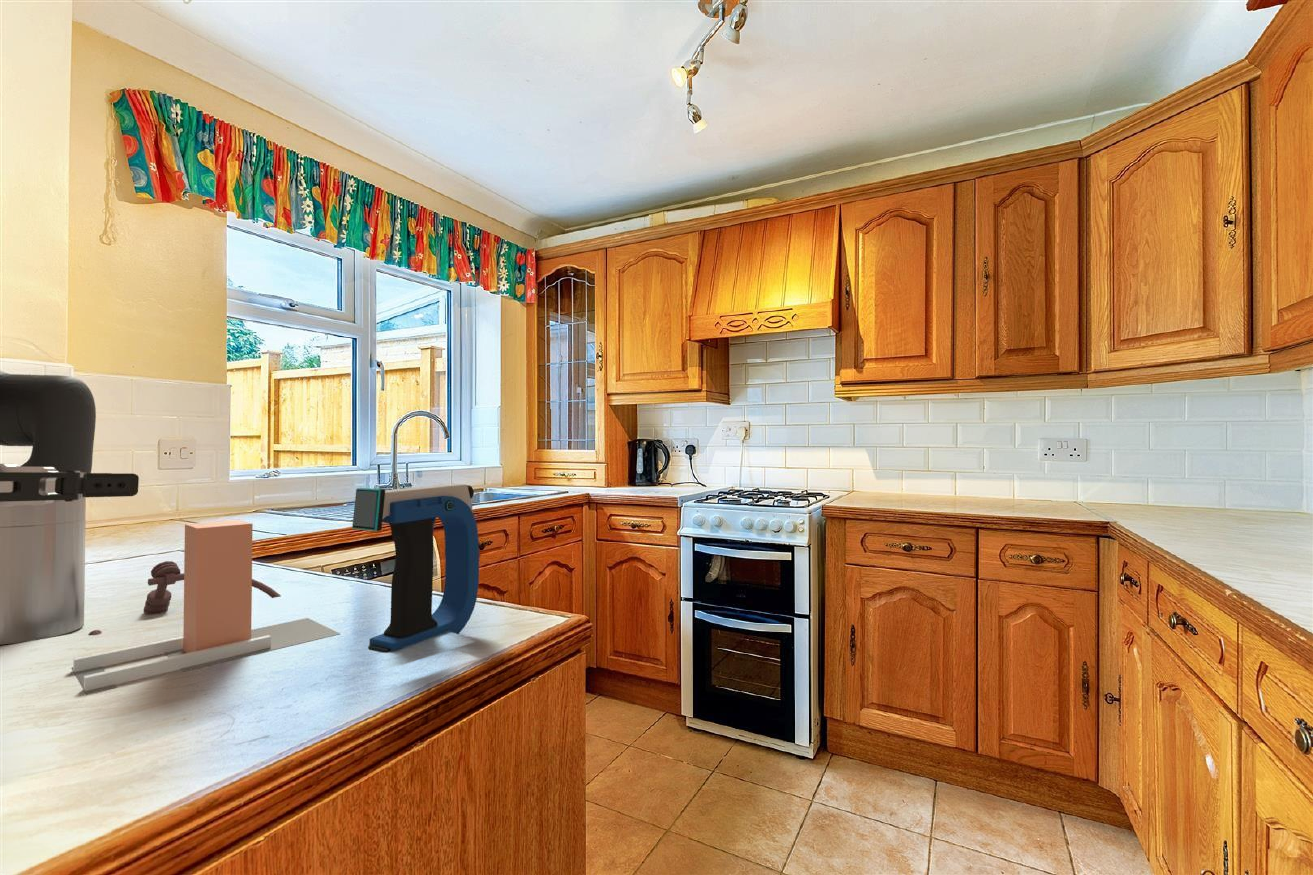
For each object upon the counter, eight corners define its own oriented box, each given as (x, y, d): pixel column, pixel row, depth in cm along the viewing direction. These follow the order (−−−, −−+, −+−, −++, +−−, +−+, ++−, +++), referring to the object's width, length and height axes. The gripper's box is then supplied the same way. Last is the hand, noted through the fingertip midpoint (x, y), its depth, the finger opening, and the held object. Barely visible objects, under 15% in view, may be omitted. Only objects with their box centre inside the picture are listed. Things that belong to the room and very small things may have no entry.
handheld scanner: (345, 665, 64) (349, 487, 64) (454, 624, 78) (457, 480, 78) (374, 673, 62) (378, 490, 62) (480, 630, 76) (483, 481, 76)
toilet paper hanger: (97, 644, 67) (66, 571, 74) (84, 697, 70) (54, 622, 76) (293, 601, 86) (254, 546, 92) (278, 644, 88) (241, 587, 94)
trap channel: (71, 682, 59) (71, 655, 59) (307, 629, 76) (307, 608, 76) (86, 710, 53) (87, 681, 53) (340, 646, 70) (340, 623, 70)
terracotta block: (183, 650, 64) (184, 524, 64) (236, 638, 68) (238, 519, 68) (195, 660, 61) (197, 528, 61) (251, 648, 65) (252, 523, 65)
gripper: (-142, 436, 42) (148, 445, 55) (-144, 442, 50) (109, 448, 63) (-151, 541, 41) (144, 524, 55) (-151, 529, 50) (105, 517, 63)
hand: (125, 484), depth 59 cm, fingers open, 8 cm apart
